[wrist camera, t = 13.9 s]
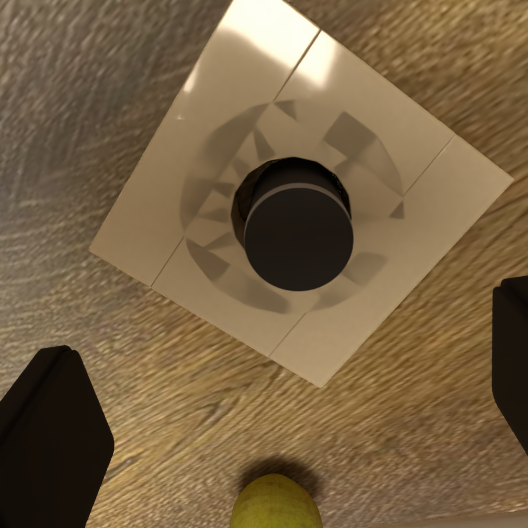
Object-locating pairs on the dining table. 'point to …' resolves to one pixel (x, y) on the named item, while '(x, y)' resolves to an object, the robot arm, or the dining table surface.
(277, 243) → the stopper
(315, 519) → the fruit
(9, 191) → the dining table surface
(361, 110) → the sink floor
